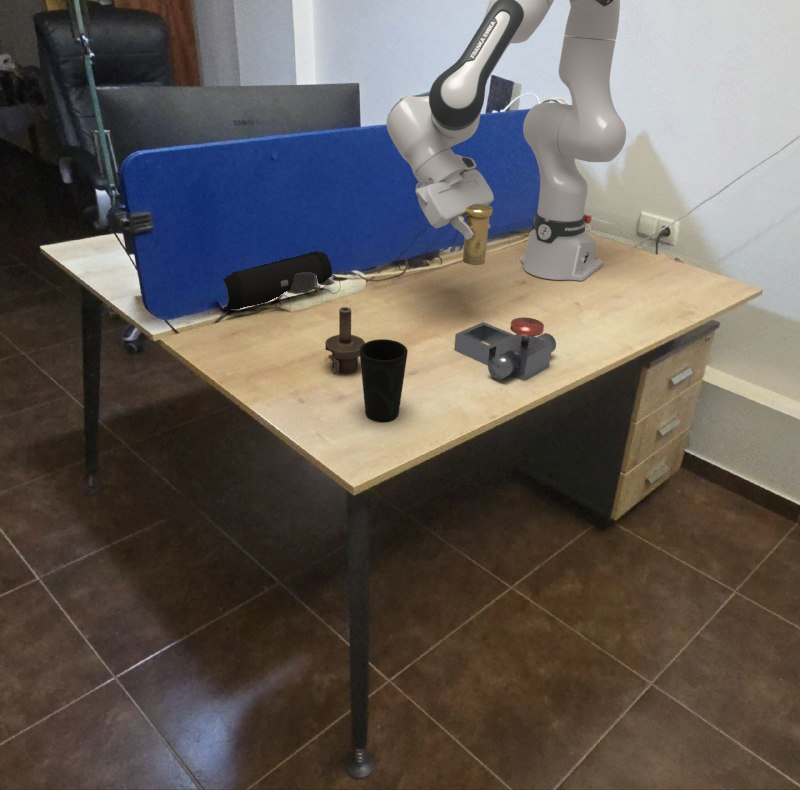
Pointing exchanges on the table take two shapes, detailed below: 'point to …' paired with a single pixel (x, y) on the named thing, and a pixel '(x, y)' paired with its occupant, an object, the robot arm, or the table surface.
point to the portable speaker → (273, 279)
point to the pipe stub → (477, 233)
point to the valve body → (508, 348)
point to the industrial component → (344, 345)
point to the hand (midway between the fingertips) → (479, 233)
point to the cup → (382, 378)
